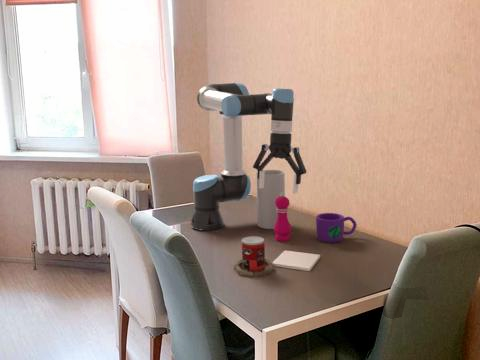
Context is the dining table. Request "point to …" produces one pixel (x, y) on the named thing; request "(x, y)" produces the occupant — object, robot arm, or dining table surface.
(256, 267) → the canned food
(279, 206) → the pepper mill
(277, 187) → the cylinder vase
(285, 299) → the dining table surface
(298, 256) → the coaster
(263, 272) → the wooden polygonal ring
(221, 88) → the robot arm
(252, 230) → the dining table surface
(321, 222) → the mug
